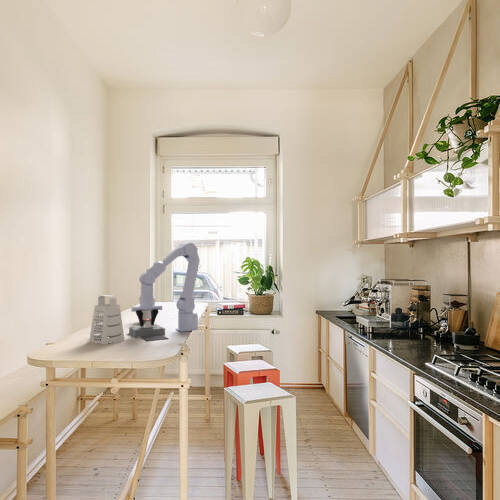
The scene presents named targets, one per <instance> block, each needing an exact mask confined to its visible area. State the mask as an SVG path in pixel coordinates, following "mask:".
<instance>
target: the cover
mask: <svg viewBox="0 0 500 500" xmlns="http://www.w3.org/2000/svg"><path fill="white" fill-rule="evenodd" d="M150 328H152V319H143V326H142V329H150Z"/></svg>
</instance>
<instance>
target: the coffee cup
mask: <svg viewBox="0 0 500 500" xmlns="http://www.w3.org/2000/svg"><path fill="white" fill-rule="evenodd" d="M138 300H139V307H140V306H141V294H140V295H139V297H138ZM156 300H157V297H156V296H155V294H153V306H156V305H155V304H156ZM144 310H146V309H144ZM142 312H143V319H151V310H149V311H142Z"/></svg>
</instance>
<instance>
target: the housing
mask: <svg viewBox="0 0 500 500" xmlns="http://www.w3.org/2000/svg"><path fill="white" fill-rule="evenodd" d="M128 334H130V335H131V336H132V337H134V338H141V337H143V336H154V335H163V336H165V335H166V328H165V327H163V326H161V325H159V324H157V323H156V324H155V323H154V326H152V328H150V329H142V327H141V326H140V325H139V326H138V325H137V326H134V325H133V326H128Z"/></svg>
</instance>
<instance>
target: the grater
mask: <svg viewBox="0 0 500 500" xmlns="http://www.w3.org/2000/svg"><path fill="white" fill-rule="evenodd" d="M106 297H108V299H109V303H106ZM93 307H94V308H93V316H92V321H91V322H92V323H91V328H90V334H89V340H88V342H89V343H93V342H94V343H95V344H99V343H101V345H109V344H108V343H110V344H113V343H112V342H115V343H118V342H117V341H119V342H124V341H125V333H124V328H123V327H124V326H123V320H122V313H121V312H122V311H121V305H120V304H117V296H116V295H112V294H111V295H110V294H104V295H103V294H102V295H99V296H98V299H97V305H94V306H93ZM108 337H109V338H108ZM100 339H101V340H100ZM123 340H124V341H123ZM94 343H93V344H94Z"/></svg>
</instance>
